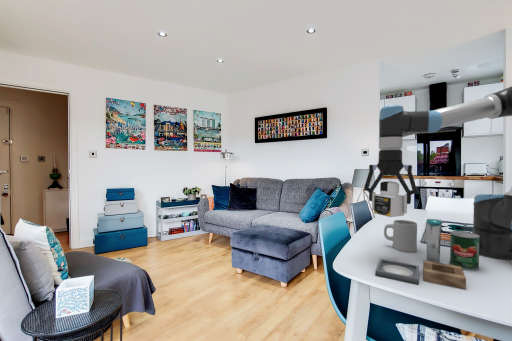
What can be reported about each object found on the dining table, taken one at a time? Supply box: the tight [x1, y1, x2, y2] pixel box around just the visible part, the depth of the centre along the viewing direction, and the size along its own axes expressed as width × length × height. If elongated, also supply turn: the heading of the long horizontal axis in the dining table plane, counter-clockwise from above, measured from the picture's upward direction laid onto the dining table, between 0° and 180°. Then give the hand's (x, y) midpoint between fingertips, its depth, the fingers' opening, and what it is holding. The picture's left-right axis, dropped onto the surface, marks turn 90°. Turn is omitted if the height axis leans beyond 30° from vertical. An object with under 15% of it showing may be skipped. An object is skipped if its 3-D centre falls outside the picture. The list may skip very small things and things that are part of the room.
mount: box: [422, 259, 467, 290], centre depth 81 cm, size 10×10×3 cm
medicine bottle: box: [373, 180, 405, 218], centre depth 95 cm, size 7×7×12 cm
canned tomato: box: [449, 230, 480, 271], centre depth 90 cm, size 8×8×11 cm
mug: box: [383, 219, 418, 253], centre depth 109 cm, size 12×8×11 cm
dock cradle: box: [374, 258, 420, 286], centre depth 84 cm, size 12×12×2 cm
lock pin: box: [425, 218, 443, 263], centre depth 93 cm, size 5×5×15 cm
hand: (389, 211), depth 95 cm, fingers closed on medicine bottle, 10 cm apart
